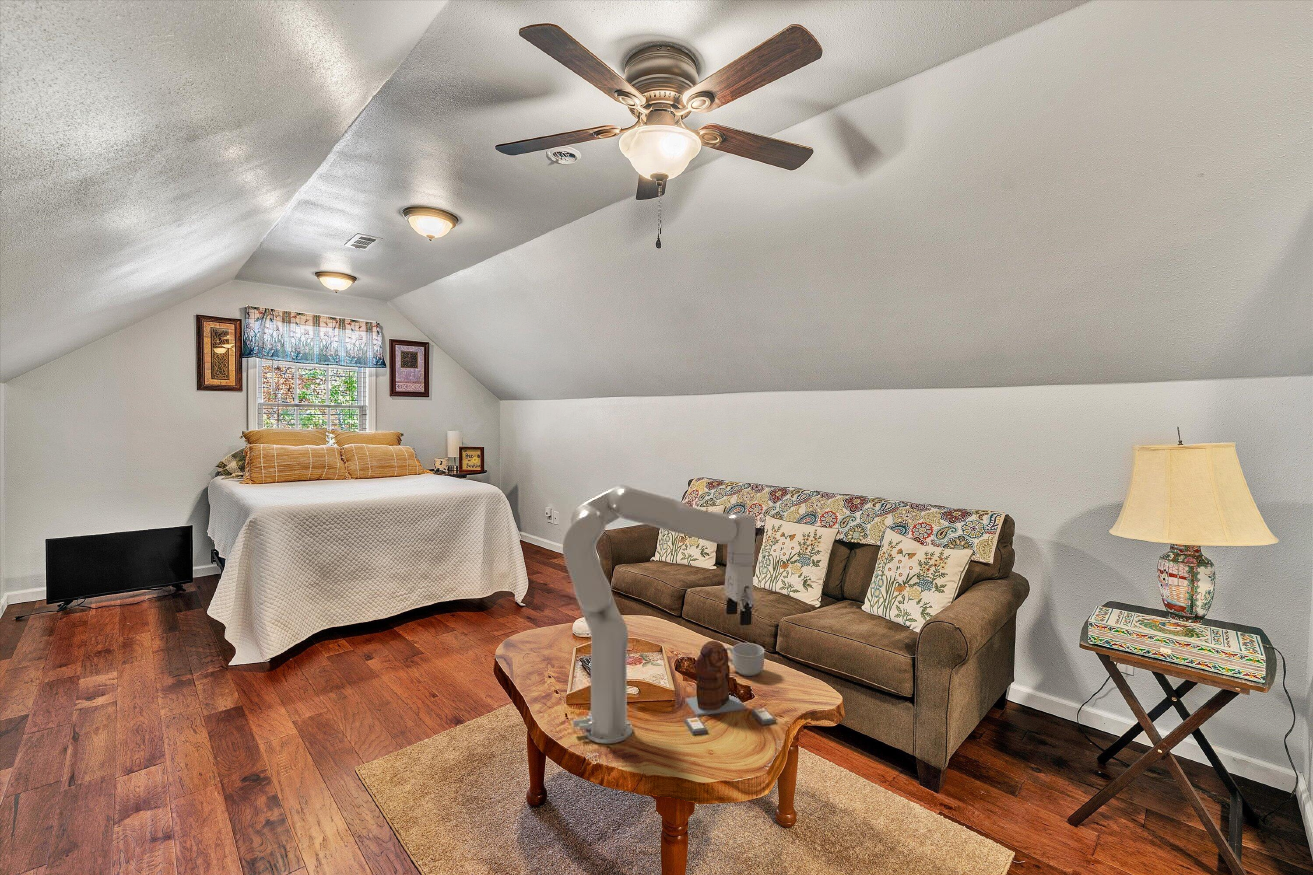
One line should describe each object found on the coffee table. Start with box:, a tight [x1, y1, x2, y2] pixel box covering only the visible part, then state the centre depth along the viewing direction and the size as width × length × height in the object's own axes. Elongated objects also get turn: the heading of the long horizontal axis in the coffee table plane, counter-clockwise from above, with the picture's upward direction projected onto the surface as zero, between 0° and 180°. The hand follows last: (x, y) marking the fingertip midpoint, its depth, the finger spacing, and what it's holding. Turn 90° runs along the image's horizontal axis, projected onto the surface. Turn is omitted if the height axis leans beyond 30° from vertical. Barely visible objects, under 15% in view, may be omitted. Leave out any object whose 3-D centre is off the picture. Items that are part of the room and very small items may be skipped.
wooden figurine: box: [695, 640, 731, 710], centre depth 169 cm, size 12×6×18 cm, turn 142°
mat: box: [685, 695, 747, 717], centre depth 169 cm, size 15×10×1 cm, turn 106°
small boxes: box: [683, 707, 777, 736], centre depth 159 cm, size 24×7×1 cm, turn 106°
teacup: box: [724, 642, 766, 677], centre depth 193 cm, size 14×11×8 cm
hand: (738, 619), depth 162 cm, fingers open, 9 cm apart
